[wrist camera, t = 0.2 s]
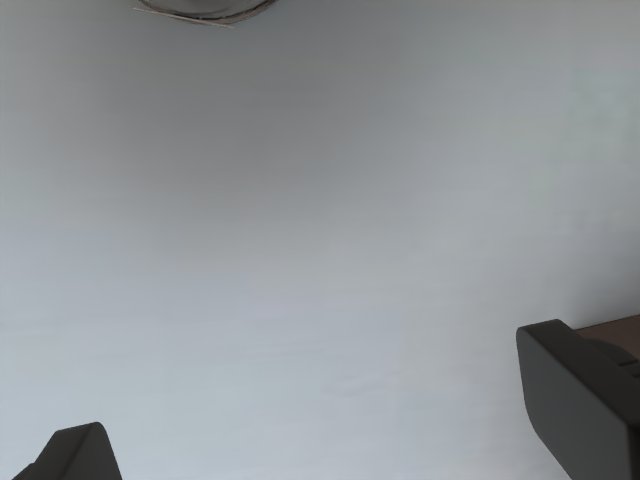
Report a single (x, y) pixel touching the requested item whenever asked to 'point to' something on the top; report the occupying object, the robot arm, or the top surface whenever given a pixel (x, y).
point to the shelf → (617, 334)
